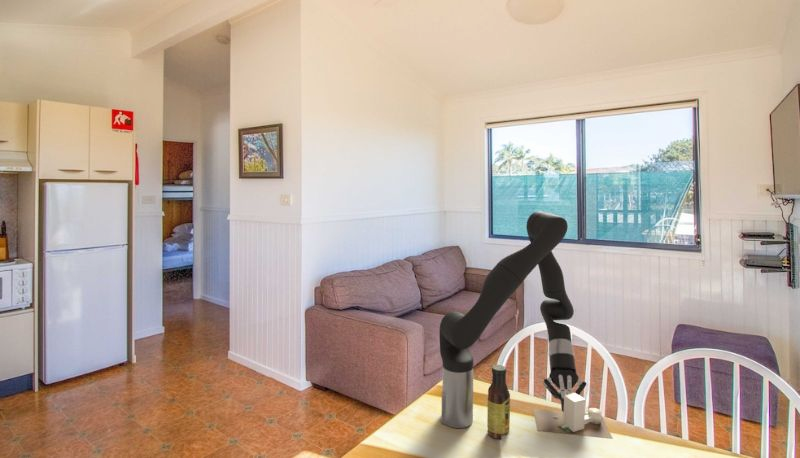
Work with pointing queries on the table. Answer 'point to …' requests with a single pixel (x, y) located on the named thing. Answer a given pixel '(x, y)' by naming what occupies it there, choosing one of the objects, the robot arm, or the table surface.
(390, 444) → the table surface
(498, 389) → the sauce bottle
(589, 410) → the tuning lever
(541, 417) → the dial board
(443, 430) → the table surface
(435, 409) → the table surface
